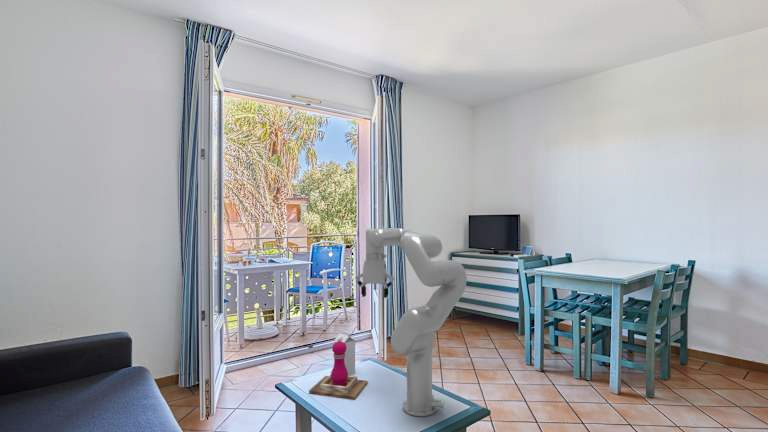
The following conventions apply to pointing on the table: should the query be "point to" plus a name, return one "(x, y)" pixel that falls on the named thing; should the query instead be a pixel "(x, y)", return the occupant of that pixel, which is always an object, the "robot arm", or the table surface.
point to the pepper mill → (339, 364)
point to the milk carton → (348, 351)
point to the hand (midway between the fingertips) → (374, 296)
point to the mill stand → (339, 388)
